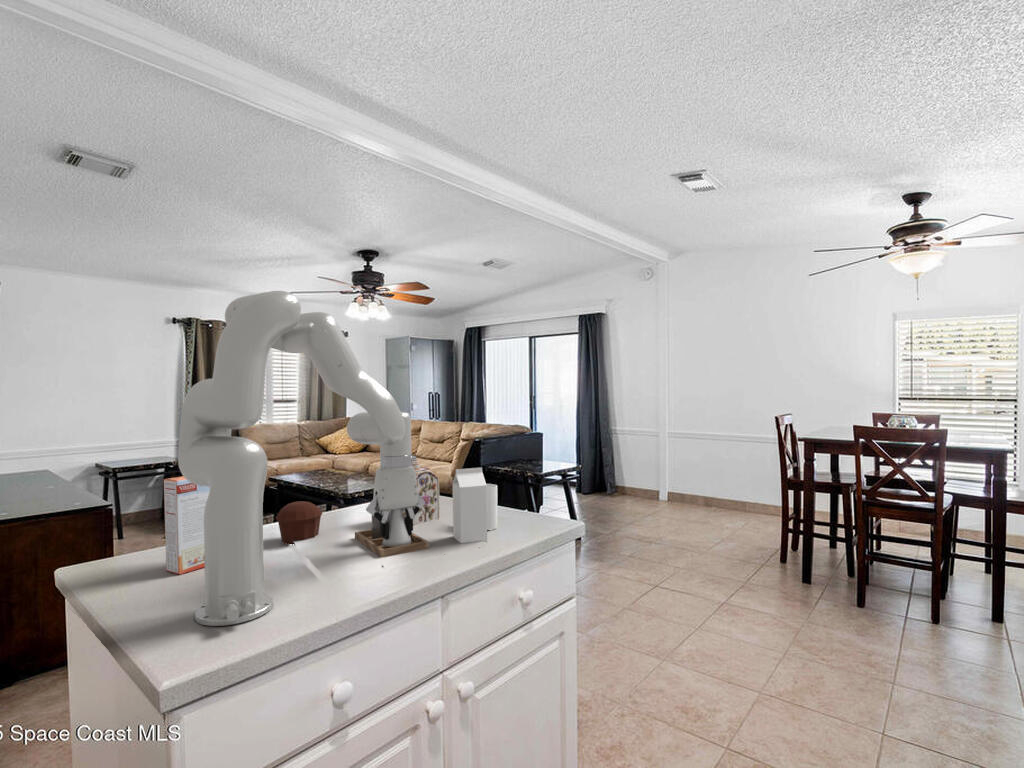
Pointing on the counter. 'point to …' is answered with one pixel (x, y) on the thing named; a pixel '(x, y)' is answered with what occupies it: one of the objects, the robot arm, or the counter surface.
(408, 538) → the flask
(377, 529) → the pepper shaker
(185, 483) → the cracker box
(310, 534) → the muffin
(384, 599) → the counter surface
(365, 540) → the caddy
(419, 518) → the decorative jar
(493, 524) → the mug
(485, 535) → the milk carton
